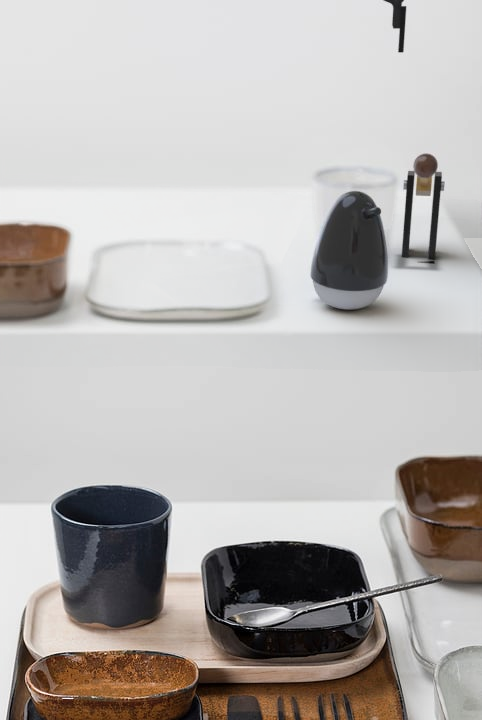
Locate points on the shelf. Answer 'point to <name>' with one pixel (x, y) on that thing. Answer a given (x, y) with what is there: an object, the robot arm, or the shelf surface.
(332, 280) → the pump dispenser
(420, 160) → the ball knob lever
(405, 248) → the bracket
